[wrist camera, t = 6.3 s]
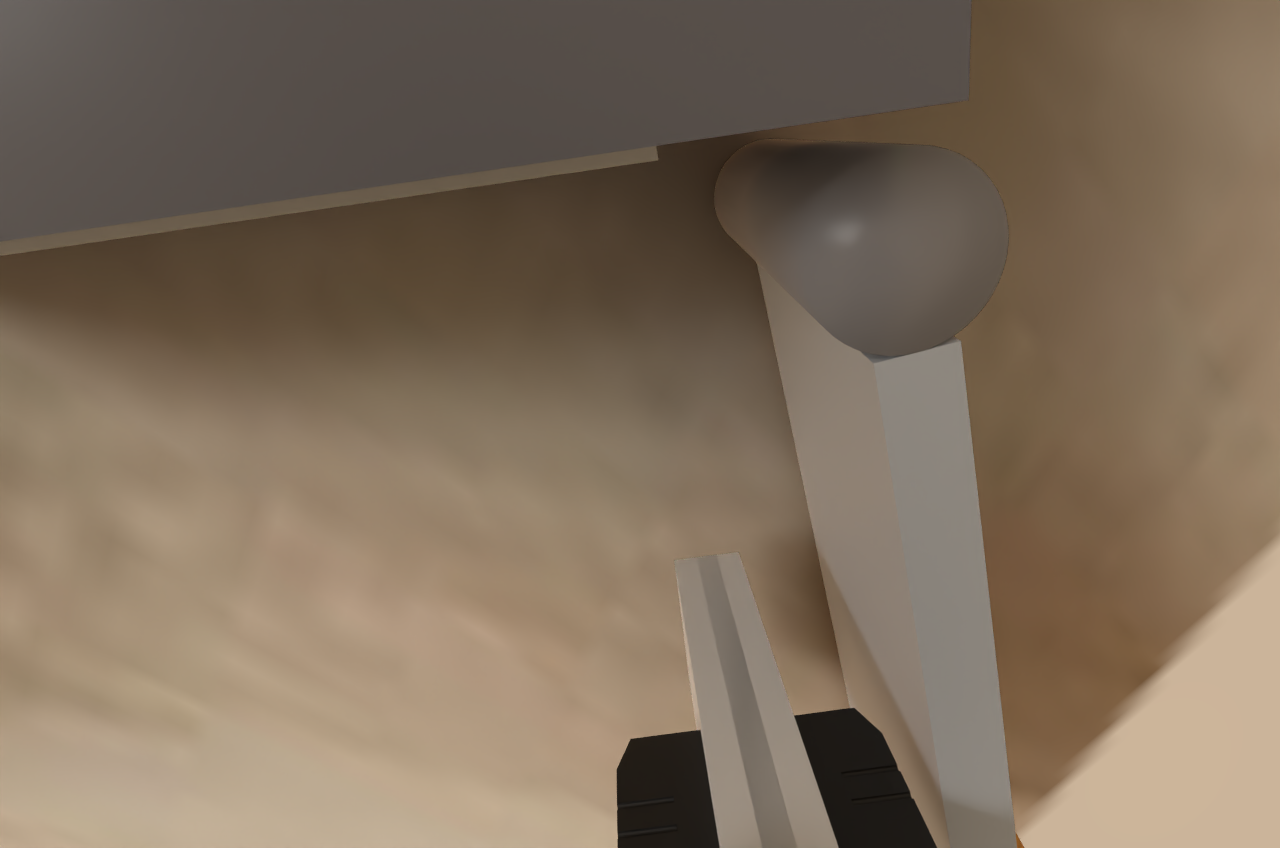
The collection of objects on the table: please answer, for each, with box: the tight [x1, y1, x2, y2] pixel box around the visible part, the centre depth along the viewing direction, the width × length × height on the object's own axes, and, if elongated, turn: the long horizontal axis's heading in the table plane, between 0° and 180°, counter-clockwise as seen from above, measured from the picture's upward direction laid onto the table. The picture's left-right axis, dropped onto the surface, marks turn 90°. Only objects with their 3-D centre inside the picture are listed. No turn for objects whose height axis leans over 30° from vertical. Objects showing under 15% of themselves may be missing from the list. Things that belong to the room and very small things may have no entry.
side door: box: [714, 139, 1024, 848], centre depth 12 cm, size 14×2×6 cm, turn 15°
